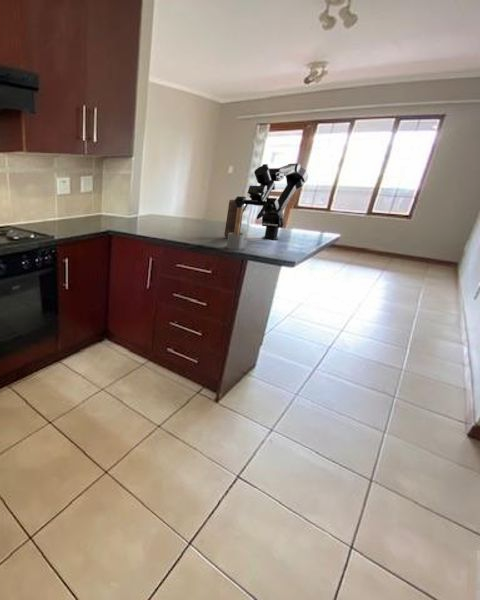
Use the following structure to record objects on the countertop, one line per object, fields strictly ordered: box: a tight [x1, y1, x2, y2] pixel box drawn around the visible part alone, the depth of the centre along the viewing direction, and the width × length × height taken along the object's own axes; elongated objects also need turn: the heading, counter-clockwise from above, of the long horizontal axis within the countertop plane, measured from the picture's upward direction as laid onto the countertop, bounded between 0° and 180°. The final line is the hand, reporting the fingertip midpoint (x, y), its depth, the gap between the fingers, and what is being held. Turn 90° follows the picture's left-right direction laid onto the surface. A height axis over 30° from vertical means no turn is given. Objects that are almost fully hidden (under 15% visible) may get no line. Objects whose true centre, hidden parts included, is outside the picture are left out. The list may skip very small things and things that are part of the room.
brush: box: [234, 208, 243, 235], centre depth 152 cm, size 3×3×18 cm
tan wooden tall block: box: [223, 199, 244, 239], centre depth 172 cm, size 8×7×20 cm
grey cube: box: [226, 232, 246, 251], centre depth 154 cm, size 7×7×7 cm
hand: (247, 217), depth 154 cm, fingers open, 9 cm apart
